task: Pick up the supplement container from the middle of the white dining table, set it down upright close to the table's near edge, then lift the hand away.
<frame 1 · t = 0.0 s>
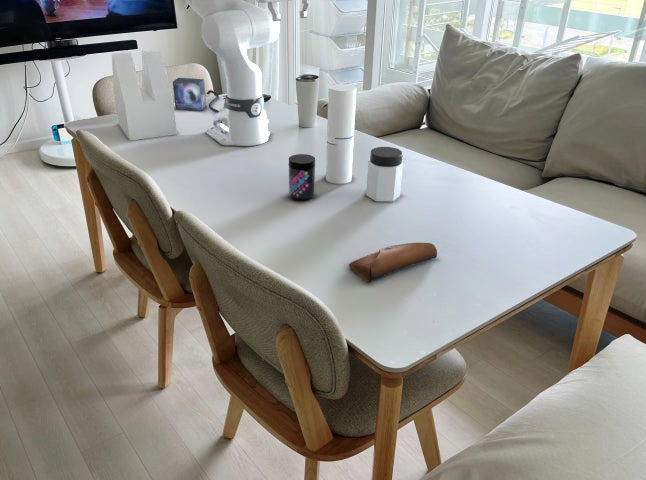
hand: (290, 19, 158), 39 cm above the table, tool pointing down, fingers open, 8 cm apart
supplement container: (301, 197, 154), on the table
white notched block: (147, 129, 201), on the table
small box: (191, 109, 224), on the table
cylindrical container: (338, 179, 165), on the table
sunglasses case: (391, 265, 124), on the table
jar: (382, 196, 155), on the table
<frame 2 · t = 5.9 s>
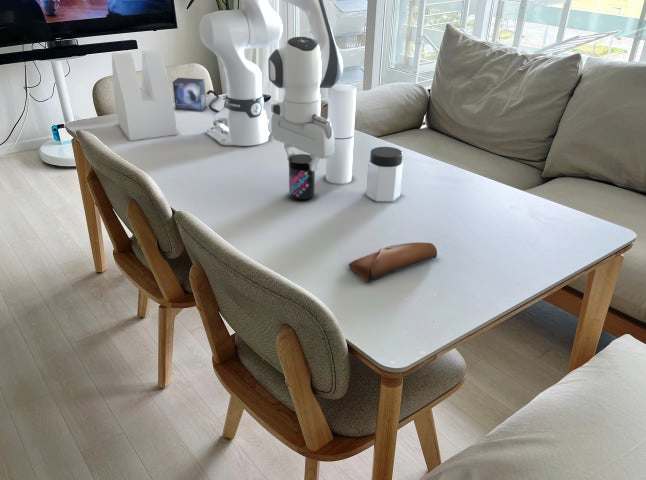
hand: (301, 165, 149), 9 cm above the table, tool pointing down, fingers closed on supplement container, 7 cm apart
supplement container: (301, 197, 154), on the table, touching gripper
everything else where it was.
when the fingers open (9 cm above the table, at t = 14.1 s): supplement container stays where it is, on the table.
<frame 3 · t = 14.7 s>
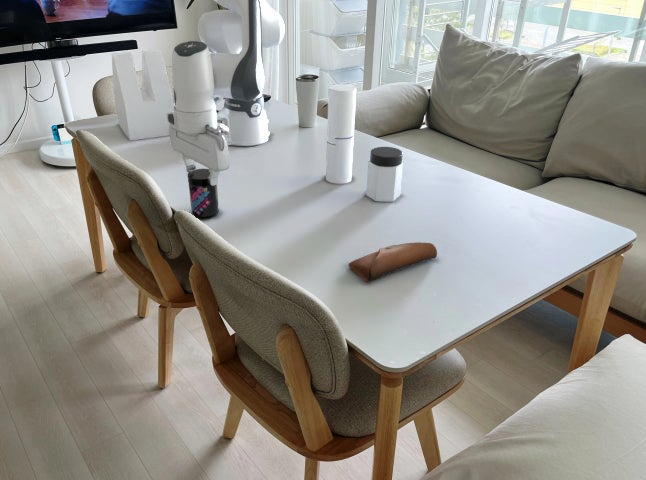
hand: (202, 178, 139), 9 cm above the table, tool pointing down, fingers open, 8 cm apart
supplement container: (205, 214, 144), on the table
everything else where it was.
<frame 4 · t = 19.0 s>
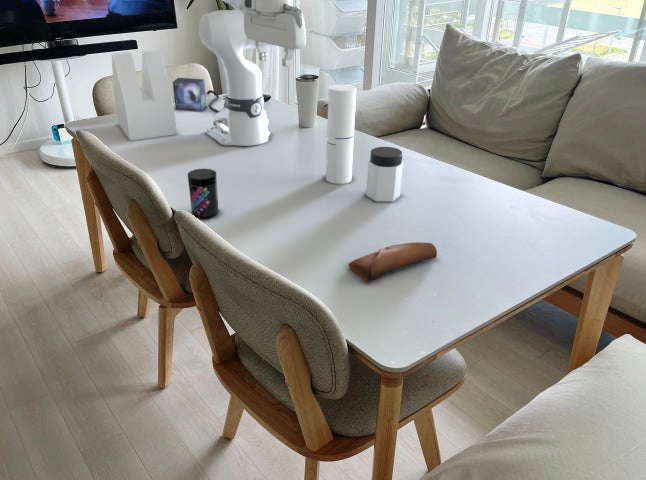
hand: (274, 63, 147), 31 cm above the table, tool pointing down, fingers open, 8 cm apart
nothing on the table moved.
at the end: supplement container inside the target area (0.6 cm from its centre), on the table; supplement container tilted 0°; the gripper is holding nothing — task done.
